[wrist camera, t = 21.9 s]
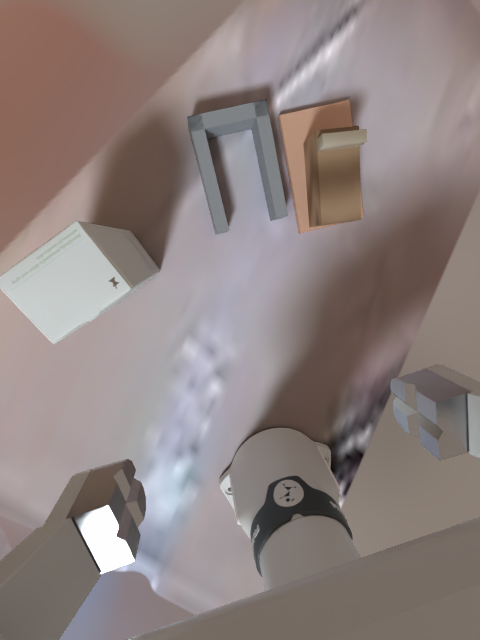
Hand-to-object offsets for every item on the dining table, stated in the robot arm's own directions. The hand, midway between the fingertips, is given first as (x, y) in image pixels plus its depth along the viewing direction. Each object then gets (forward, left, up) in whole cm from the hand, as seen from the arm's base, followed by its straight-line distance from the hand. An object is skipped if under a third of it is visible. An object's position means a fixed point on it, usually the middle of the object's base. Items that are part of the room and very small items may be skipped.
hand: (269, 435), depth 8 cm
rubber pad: (+12, -17, -31) cm, 38 cm away
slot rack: (+13, -6, -31) cm, 34 cm away
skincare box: (+6, +11, -31) cm, 34 cm away
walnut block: (+10, -17, -30) cm, 36 cm away
